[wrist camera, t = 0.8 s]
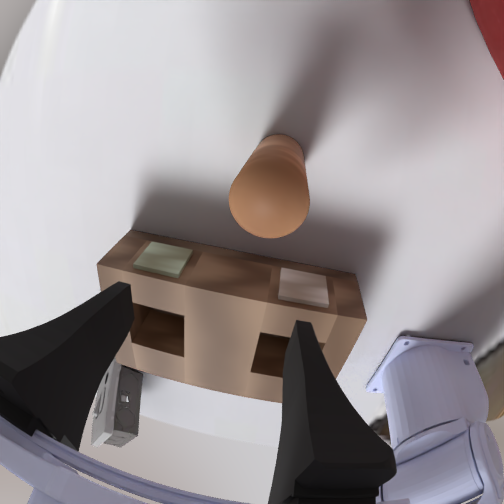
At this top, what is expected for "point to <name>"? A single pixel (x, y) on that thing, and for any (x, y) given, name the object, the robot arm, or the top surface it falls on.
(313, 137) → the top surface
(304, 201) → the peg
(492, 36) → the mixing bowl
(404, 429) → the robot arm
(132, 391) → the electrical switch
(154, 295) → the socket block
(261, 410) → the top surface
